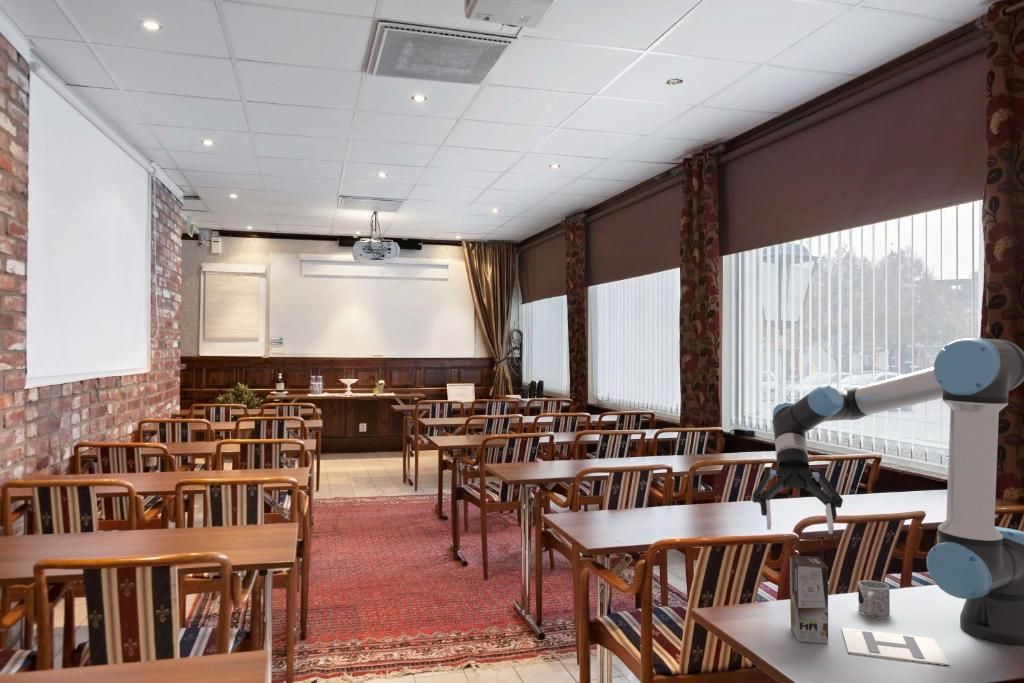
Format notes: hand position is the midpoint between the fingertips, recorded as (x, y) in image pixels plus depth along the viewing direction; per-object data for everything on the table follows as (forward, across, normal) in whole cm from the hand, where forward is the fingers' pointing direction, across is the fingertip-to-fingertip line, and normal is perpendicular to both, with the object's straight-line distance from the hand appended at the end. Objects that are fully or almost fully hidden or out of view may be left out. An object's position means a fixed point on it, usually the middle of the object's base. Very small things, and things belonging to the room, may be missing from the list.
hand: (800, 528), depth 168 cm
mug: (+10, -17, -19) cm, 28 cm away
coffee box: (+23, 0, -7) cm, 24 cm away
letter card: (+24, -16, -5) cm, 29 cm away
